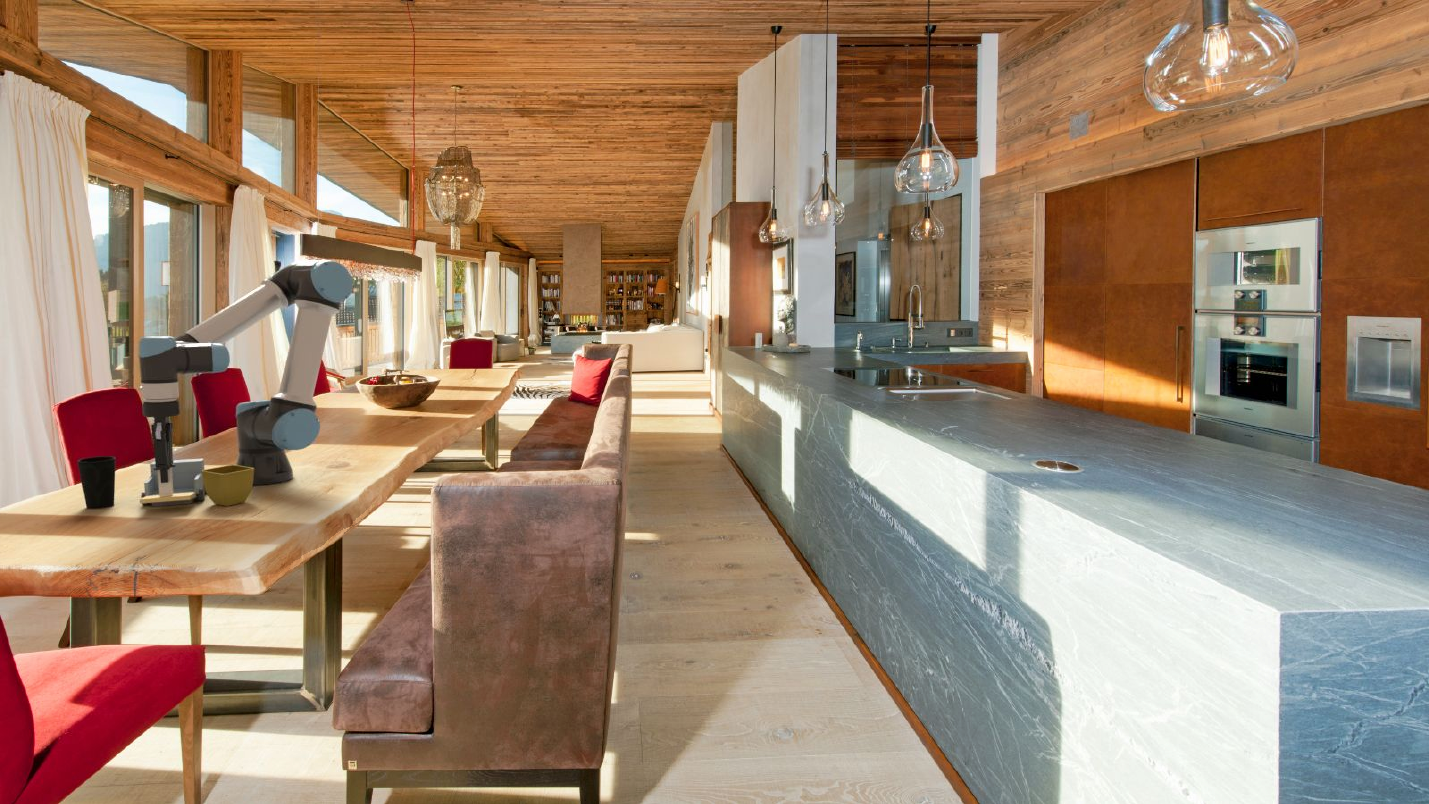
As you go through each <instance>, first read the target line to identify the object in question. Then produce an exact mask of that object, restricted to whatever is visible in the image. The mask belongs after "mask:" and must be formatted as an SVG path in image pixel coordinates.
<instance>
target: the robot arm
mask: <svg viewBox="0 0 1429 804" xmlns="http://www.w3.org/2000/svg"><path fill="white" fill-rule="evenodd" d="M353 288H354V282H353V277H352V275H351V273H350V272H349V269H347V267H346V266H345V265H343V264H342V263H341V262H338V261H336V260H329V259H316V260H315V259H313V260H306V259H304V260H301V259H300V260H297V261H294V262H292V263H290V264H289V263H288V264H287V265H286V266H283V267H282V268H280V269H279V270H277V271H276V272H274V273H273V274H271V275H269V276H268V277H266V278H264V279H262V280H261V282H260V286H258V287H257V288H255V289H253V290H252V291H251V292H249V293H247V294H245V295H244V296H243V297H240V298H239V299H238V300H236V301H234V302H232V303H231V304H229V305H227V306H226V307H224V308H223V309H221V310H219V311H218V312H216V313H215V314H212V316H210V317H208V318H207V319H205V320H204V321H202V322H200V323H198V324H197V325H195V326H193V327H192V328H191V329H189V330H187V331H185V332H184V333H182V334H180V335H178V336H177V337H176V338H175V337H174V336H168V335H167V336H166V335H165V336H152V335H150V336H143V337H140V338H139V340H138V354H137V355H138V360H139V361H138V362H139V373H140V383H141V384H140V385H141V386H138V389H137V390H138V391H142V392H141V398H142V400H144V401H143V402H142V403H141V406H142V407H141V408H142V416H143V417H145V418H154V419H153V423H152V424H151V425H150V428H151V430H150V431H151V434H150V435H151V436H152V437H151V438H152V444H153V453H154V461H155V463H156V465H155V468H154V470H158V484H159V496H168V495H173V494H174V493H173V477H172V468H170V467H175V464H172V463H173V460H174V457H173V456H174V455H173V454H174V452H173V451H174V450H173V429H174V423H173V422H171V420H170V417H176V416H179V415H180V410H181V409H180V401H179V400H178V398H179V397H180V394H179V393H180V391H179V389H180V388H179V379H178V377H179V376H178V375H188V374H189V375H190V374H191V375H193V374H194V375H195V374H214V373H222V372H225V371H227V369H228V368H229V366H230V362H231V360H230V359H231V358H230V352H229V350H228V347H227V346H226V345H225V343H227V342H229V341H230V340H231V339H233V338H235V337H236V336H238V335H240V334H241V333H243V332H244V331H246V330H247V329H249V328H250V327H252V326H254V325H255V324H257V323H258V322H261V320H263V319H264V318H266V317H268V316H269V315H271V314H272V313H274V312H276V311H277V310H279V309H280V310H285V309H287V308H288V307H290V306H292V305H294V304H295V305H296V307H297V308H298V309H297V315H296V320H295V322H294V326H293V327H294V328H293V331H292V335H291V340H290V344H289V349H288V352H287V356H286V360H285V365H284V369H283V374H282V377H281V382H280V387H279V390H278V392H277V393H275V394H274V395H272V396H270V399H267V400H255V401H245V402H239V403H238V404H237V405H236V407H235V410H236V411H235V418H236V419H235V420H236V432H237V446H238V458H237V460H236V463H235V465H238V466H245V467H251V468H254V477H253V486H262V485H272V484H273V485H274V484H277V483H282V482H287V481H290V480H292V479H293V478H294V472H293V471H294V470H293V467H292V466H291V462H290V461H289V458H288V456H287V454H286V451H300V450H304V449H306V448H307V447H309V446H310V445H312V444H314V442H315V441H316V439H317V438H318V437H319V434H320V430H321V422H320V420H319V418H318V416H317V414H316V411H317V406H318V405H317V403H316V402H315V401H314V394H315V389H316V384H317V381H318V376H319V372H320V367H321V363H322V359H323V355H324V351H325V346H326V342H327V338H328V333H329V329H330V325H331V321H332V318H333V316H335V315H337V314H338V313H339V312H340V308H341V306H342V305H341V304H342V302H344V301H346V300H347V299H348V298H349V297H350V296H351V295H352V292H353Z"/></svg>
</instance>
